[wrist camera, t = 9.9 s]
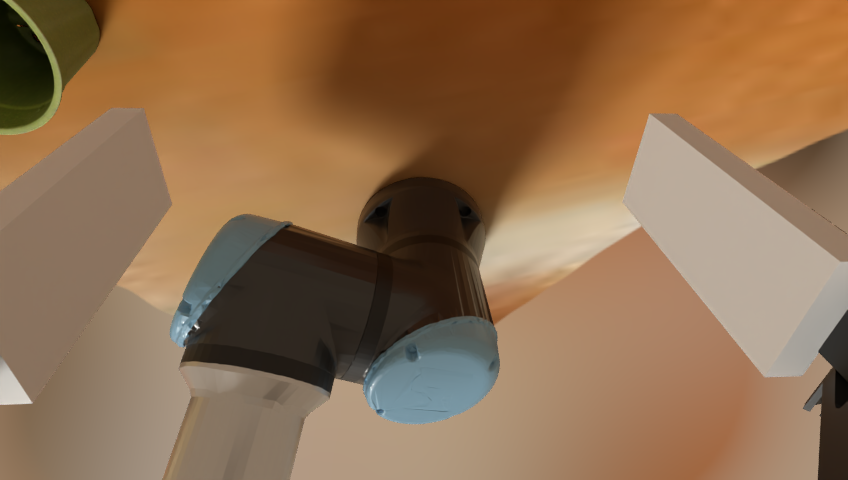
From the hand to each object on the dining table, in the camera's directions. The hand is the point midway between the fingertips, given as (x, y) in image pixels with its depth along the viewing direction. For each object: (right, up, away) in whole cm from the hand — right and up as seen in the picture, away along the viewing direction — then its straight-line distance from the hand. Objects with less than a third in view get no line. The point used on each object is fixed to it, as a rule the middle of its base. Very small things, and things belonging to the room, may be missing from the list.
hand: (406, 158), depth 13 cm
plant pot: (-32, +17, +30) cm, 47 cm away
